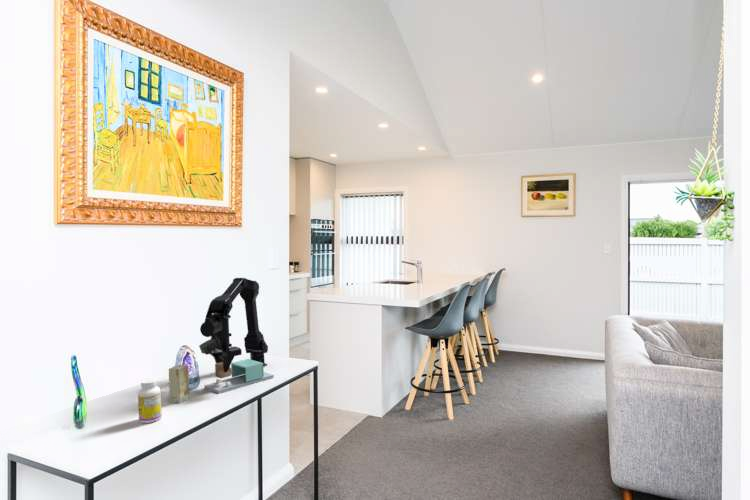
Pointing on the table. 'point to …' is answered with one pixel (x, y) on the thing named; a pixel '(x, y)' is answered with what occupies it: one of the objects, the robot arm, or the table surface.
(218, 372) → the block
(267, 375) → the grey flat rectangular block
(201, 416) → the table surface
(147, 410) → the supplement bottle
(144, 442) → the table surface
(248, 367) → the block
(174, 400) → the skincare box
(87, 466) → the table surface
